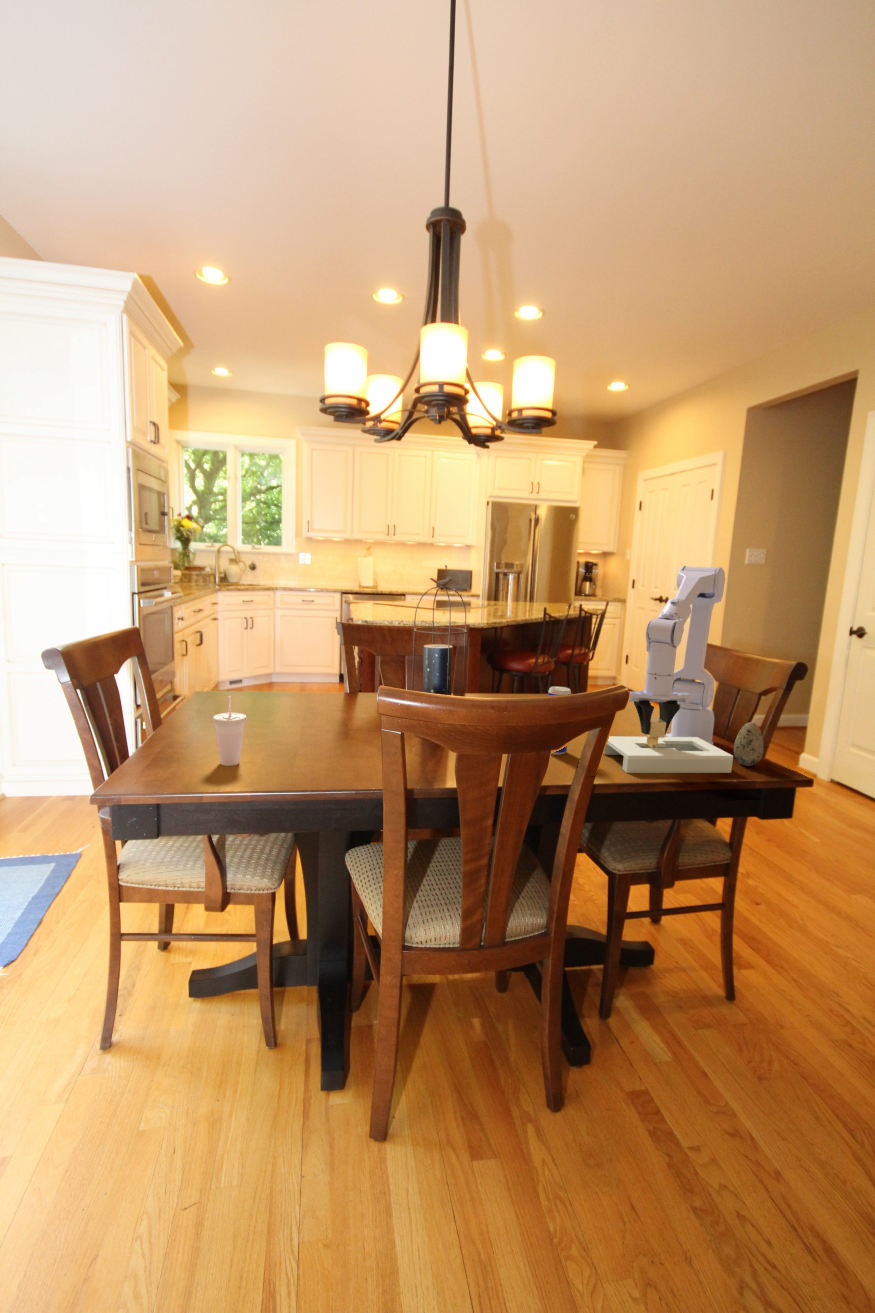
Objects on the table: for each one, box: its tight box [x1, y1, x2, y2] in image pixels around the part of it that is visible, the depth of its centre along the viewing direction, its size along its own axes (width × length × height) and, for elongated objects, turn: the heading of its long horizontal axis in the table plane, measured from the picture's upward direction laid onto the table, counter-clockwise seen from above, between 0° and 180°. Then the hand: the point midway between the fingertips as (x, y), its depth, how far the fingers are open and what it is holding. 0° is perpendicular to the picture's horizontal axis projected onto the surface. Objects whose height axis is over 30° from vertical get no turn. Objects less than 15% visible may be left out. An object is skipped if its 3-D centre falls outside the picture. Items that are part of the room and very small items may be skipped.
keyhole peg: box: [642, 717, 666, 748], centre depth 136 cm, size 6×6×9 cm
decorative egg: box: [733, 721, 765, 767], centre depth 137 cm, size 6×6×10 cm
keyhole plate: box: [604, 735, 734, 774], centre depth 136 cm, size 24×14×4 cm, turn 98°
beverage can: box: [547, 686, 572, 756], centre depth 139 cm, size 5×5×15 cm
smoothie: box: [212, 695, 247, 767], centre depth 122 cm, size 6×6×14 cm
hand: (653, 733), depth 135 cm, fingers closed on keyhole peg, 3 cm apart
